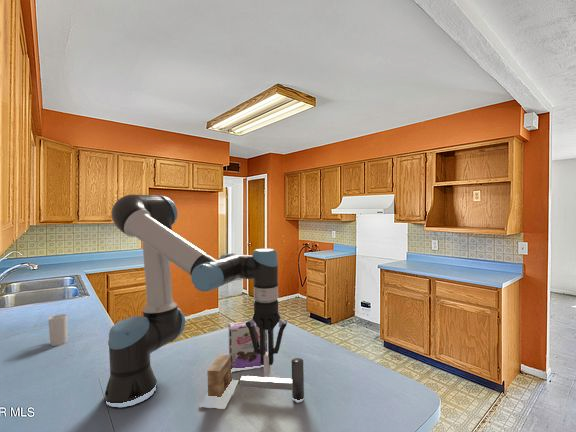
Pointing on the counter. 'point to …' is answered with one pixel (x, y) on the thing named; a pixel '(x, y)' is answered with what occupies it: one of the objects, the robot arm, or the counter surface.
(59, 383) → the counter surface
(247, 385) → the hook rod
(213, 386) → the eye block
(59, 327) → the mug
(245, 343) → the candy box
